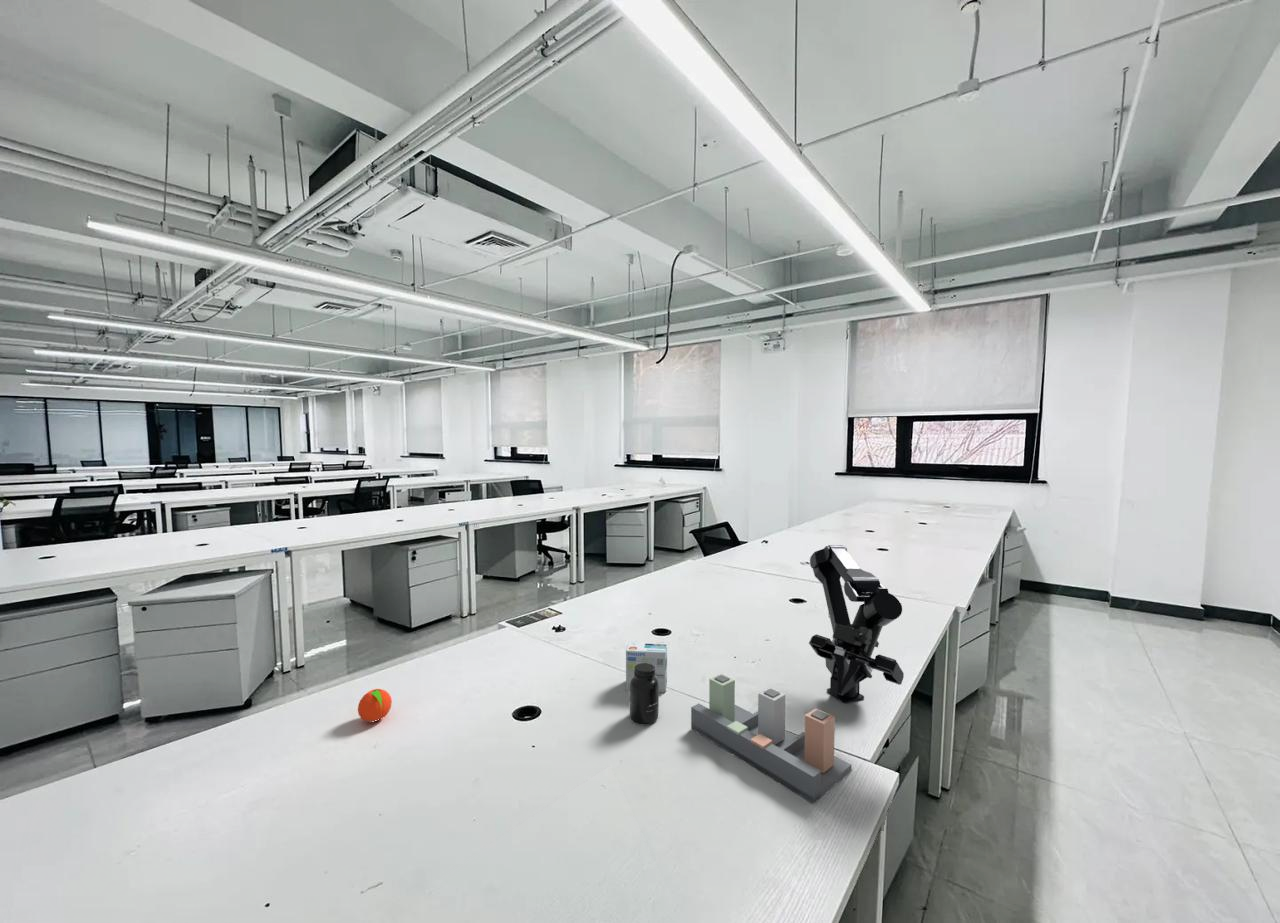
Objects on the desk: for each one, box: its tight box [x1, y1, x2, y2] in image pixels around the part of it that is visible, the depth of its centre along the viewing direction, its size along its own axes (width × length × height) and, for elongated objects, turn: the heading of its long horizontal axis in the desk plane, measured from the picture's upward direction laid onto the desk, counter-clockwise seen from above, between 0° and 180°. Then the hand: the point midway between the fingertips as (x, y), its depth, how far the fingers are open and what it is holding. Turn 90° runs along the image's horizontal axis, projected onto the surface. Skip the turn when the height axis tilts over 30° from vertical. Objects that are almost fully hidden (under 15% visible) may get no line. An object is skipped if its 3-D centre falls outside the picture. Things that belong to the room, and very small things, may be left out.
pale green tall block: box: [708, 673, 736, 722], centre depth 109 cm, size 4×4×10 cm
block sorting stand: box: [690, 703, 852, 805], centre depth 102 cm, size 14×30×6 cm, turn 40°
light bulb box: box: [625, 640, 668, 693], centre depth 129 cm, size 11×7×11 cm, turn 84°
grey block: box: [757, 686, 786, 745], centre depth 103 cm, size 4×4×10 cm
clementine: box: [357, 688, 393, 722], centre depth 112 cm, size 8×7×7 cm
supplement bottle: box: [629, 663, 660, 726], centre depth 113 cm, size 7×7×12 cm
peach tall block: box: [804, 707, 836, 773], centre depth 95 cm, size 4×4×10 cm
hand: (839, 694), depth 101 cm, fingers closed
